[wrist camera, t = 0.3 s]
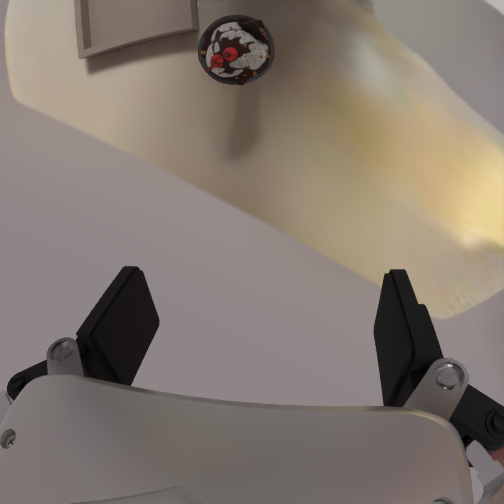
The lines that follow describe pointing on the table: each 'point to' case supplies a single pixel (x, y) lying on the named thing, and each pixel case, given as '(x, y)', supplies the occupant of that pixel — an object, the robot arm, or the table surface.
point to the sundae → (236, 49)
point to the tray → (129, 22)
